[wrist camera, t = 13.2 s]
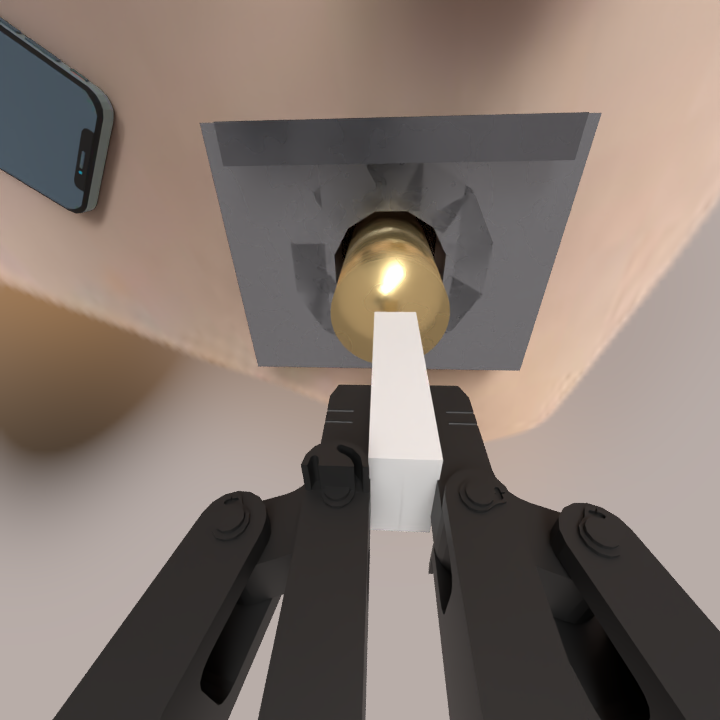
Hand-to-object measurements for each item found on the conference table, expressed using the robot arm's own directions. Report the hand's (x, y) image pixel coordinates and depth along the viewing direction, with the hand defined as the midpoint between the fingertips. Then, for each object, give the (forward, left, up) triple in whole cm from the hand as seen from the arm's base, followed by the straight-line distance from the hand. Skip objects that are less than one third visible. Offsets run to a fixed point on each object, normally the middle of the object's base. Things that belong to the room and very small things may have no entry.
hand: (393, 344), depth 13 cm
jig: (0, 0, -12) cm, 12 cm away
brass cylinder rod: (0, 0, -12) cm, 12 cm away
